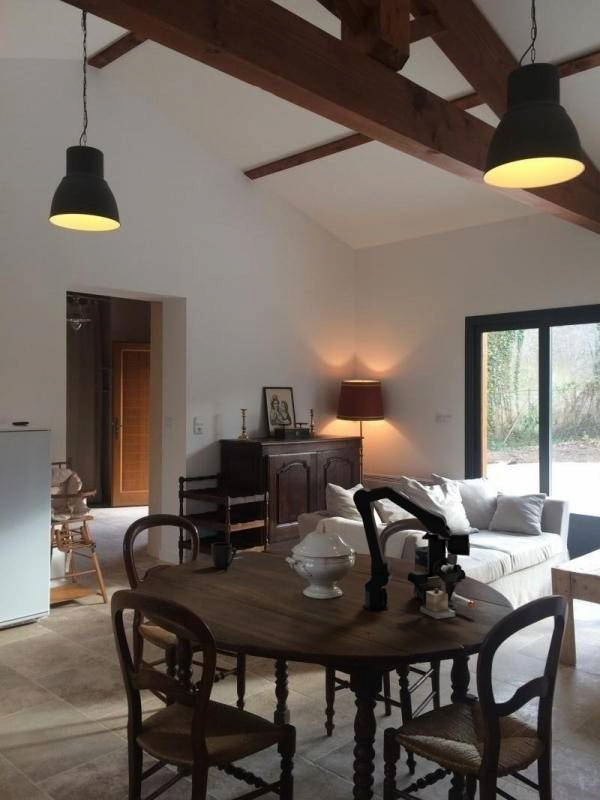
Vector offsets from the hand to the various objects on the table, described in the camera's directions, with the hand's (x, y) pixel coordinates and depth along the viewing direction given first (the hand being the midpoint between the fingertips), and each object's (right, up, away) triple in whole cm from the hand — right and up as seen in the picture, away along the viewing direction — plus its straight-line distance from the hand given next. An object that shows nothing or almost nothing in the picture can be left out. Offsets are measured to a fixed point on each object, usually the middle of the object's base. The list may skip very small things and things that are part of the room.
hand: (436, 602), depth 225 cm
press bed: (0, -4, 0) cm, 4 cm away
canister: (0, -4, +17) cm, 18 cm away
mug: (-74, -4, +60) cm, 96 cm away
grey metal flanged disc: (+6, -4, +6) cm, 9 cm away
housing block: (0, -2, 0) cm, 2 cm away
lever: (+8, -1, +2) cm, 8 cm away
